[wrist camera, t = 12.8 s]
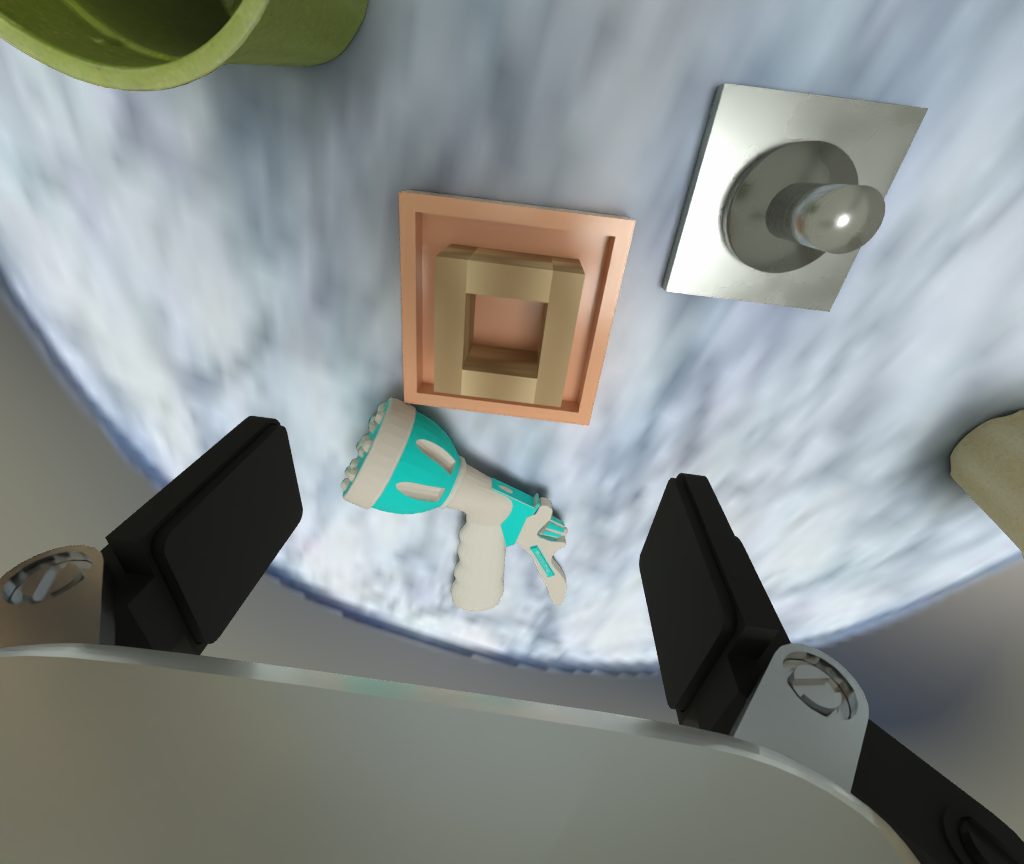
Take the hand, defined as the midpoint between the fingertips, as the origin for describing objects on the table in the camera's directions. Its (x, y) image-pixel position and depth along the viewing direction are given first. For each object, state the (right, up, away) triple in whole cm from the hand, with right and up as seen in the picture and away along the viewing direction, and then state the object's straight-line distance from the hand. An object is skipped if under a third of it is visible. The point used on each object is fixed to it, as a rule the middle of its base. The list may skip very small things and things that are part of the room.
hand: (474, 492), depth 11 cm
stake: (+14, +13, +12) cm, 23 cm away
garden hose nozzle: (-2, -4, +24) cm, 24 cm away
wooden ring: (+1, +8, +15) cm, 17 cm away
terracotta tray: (+1, +9, +15) cm, 17 cm away
